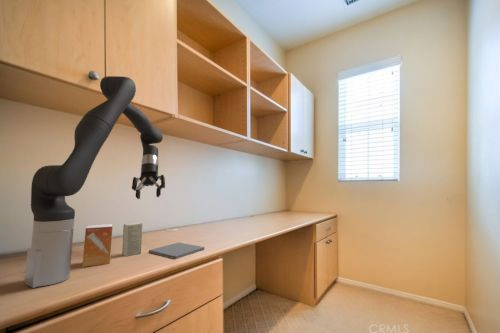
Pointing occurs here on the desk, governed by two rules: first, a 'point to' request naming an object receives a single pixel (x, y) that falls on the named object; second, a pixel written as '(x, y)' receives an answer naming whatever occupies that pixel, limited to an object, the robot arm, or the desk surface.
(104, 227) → the small box
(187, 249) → the rubber mat
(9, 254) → the desk surface
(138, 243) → the skincare box
